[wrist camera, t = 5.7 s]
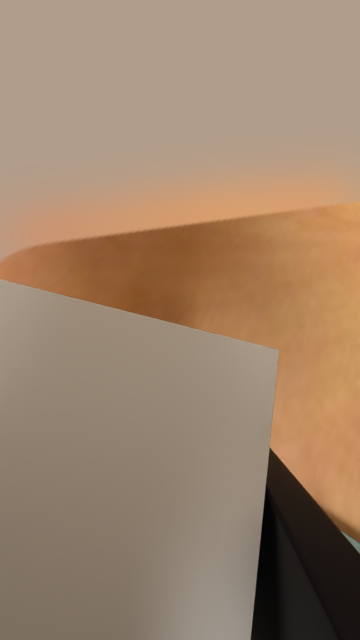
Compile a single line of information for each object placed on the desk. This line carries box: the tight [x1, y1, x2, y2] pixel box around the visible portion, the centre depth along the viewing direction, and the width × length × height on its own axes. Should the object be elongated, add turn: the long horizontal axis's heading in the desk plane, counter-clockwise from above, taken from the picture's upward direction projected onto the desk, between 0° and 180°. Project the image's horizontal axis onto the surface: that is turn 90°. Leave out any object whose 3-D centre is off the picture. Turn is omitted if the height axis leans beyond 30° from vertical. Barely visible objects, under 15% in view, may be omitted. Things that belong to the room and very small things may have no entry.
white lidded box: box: [0, 279, 279, 640], centre depth 9 cm, size 6×6×9 cm
